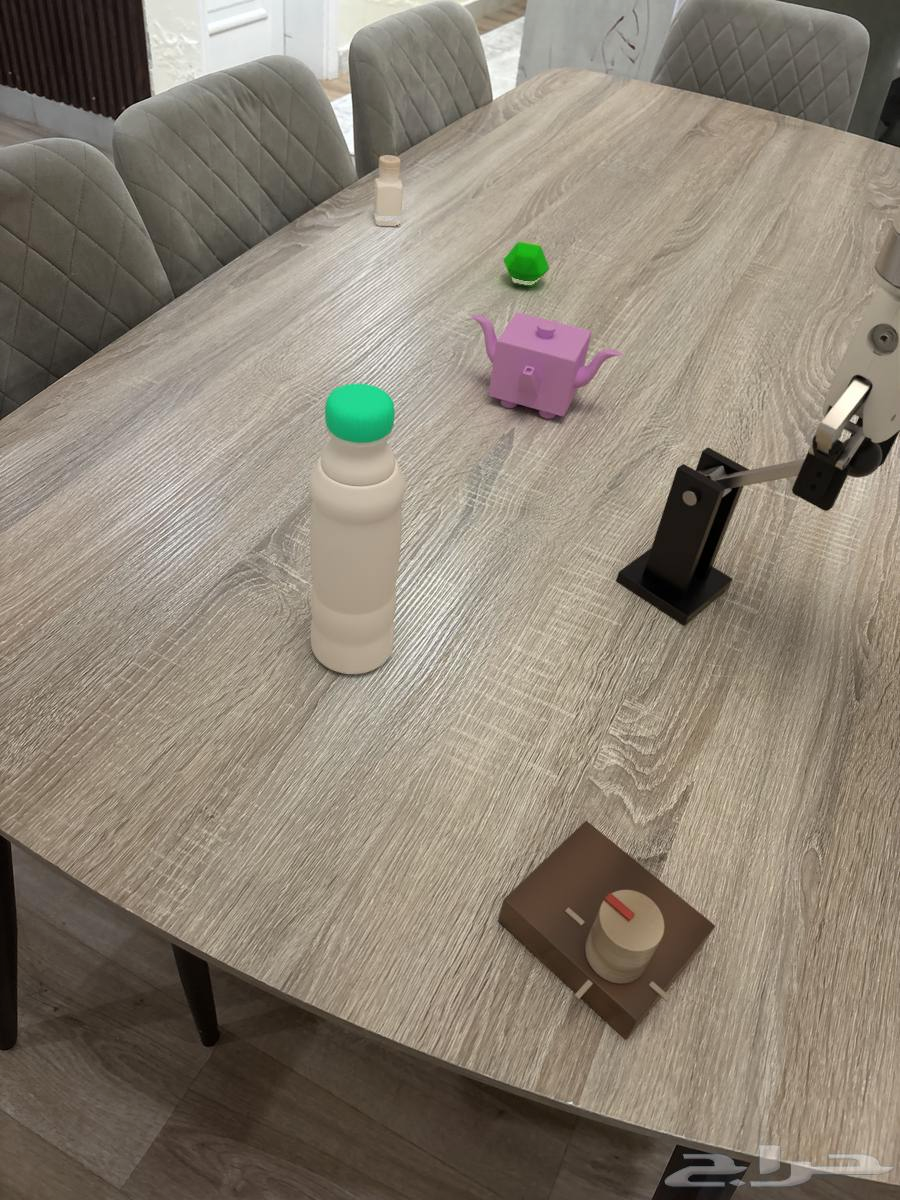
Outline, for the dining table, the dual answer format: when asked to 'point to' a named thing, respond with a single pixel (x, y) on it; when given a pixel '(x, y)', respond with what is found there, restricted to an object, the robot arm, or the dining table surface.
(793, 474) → the faucet lever
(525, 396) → the teapot
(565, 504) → the dining table surface
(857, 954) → the dining table surface
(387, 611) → the water bottle
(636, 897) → the tap knob
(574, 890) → the tap panel
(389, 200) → the salt shaker
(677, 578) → the black lever stand
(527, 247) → the green faceted polyhedron
